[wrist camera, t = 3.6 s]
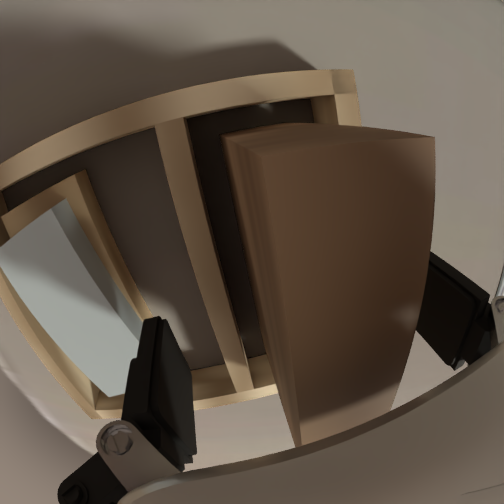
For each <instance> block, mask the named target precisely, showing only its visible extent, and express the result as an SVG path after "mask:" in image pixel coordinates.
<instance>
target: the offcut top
mask: <svg viewBox="0 0 504 504" xmlns="http://www.w3.org/2000/svg"><path fill="white" fill-rule="evenodd" d="M0 267H1V268H2V270H3V272H4V273H5V275H6V276H7V278H8V280H9V281H10V283H11V284H12V286H13V287H14V289H15V290H16V292H17V293H18V295H19V296H20V298H21V299H22V300H23V302H24V303H25V305H26V306H27V307H28V309H29V310H30V311H31V313H32V314H33V315H34V317H35V318H36V319H37V321H38V322H39V323H40V324H41V326H42V327H43V328H44V329H45V331H46V332H47V333H48V334H49V336H50V337H51V338H52V339H53V340H54V341H55V343H56V344H57V345H58V346H59V347H60V348H61V350H62V351H63V352H64V353H65V354H66V355H67V356H68V357H69V358H70V359H71V361H72V362H73V363H74V364H75V365H76V366H77V367H78V368H79V369H80V370H81V371H82V372H83V373H84V374H85V375H86V376H87V377H88V378H89V379H90V380H91V381H92V382H93V383H94V384H95V385H96V386H97V387H98V388H99V389H100V390H102V391H103V392H104V393H105V394H106V395H107V396H108V397H112V396H116V395H120V394H124V393H125V389H126V383H127V377H128V371H129V366H130V362H131V360H132V359H133V358H136V357H137V351H138V346H139V340H140V335H141V330H142V325H143V322H142V321H141V319H140V318H139V316H138V315H137V314H136V312H135V311H134V310H133V308H132V307H131V305H130V304H129V302H128V301H127V300H126V298H125V297H124V295H123V294H122V292H121V291H120V289H119V288H118V286H117V285H116V283H115V282H114V280H113V279H112V277H111V276H110V274H109V273H108V271H107V269H106V268H105V266H104V265H103V263H102V261H101V260H100V258H99V257H98V255H97V253H96V252H95V250H94V248H93V247H92V245H91V243H90V241H89V240H88V238H87V236H86V235H85V233H84V231H83V229H82V227H81V226H80V224H79V222H78V220H77V218H76V216H75V215H74V213H73V211H72V209H71V207H70V205H69V203H68V201H67V199H66V198H65V199H64V200H62V201H61V202H59V203H58V204H57V205H55V206H54V207H52V208H51V209H49V210H48V211H46V212H45V213H44V214H42V215H41V216H40V217H38V218H37V219H35V220H34V221H33V222H31V223H30V224H29V225H27V226H26V227H25V228H23V229H22V230H21V231H20V232H18V233H17V234H16V235H15V236H13V237H12V238H11V239H10V240H8V241H7V242H6V243H5V244H4V245H2V246H1V247H0Z"/></svg>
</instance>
